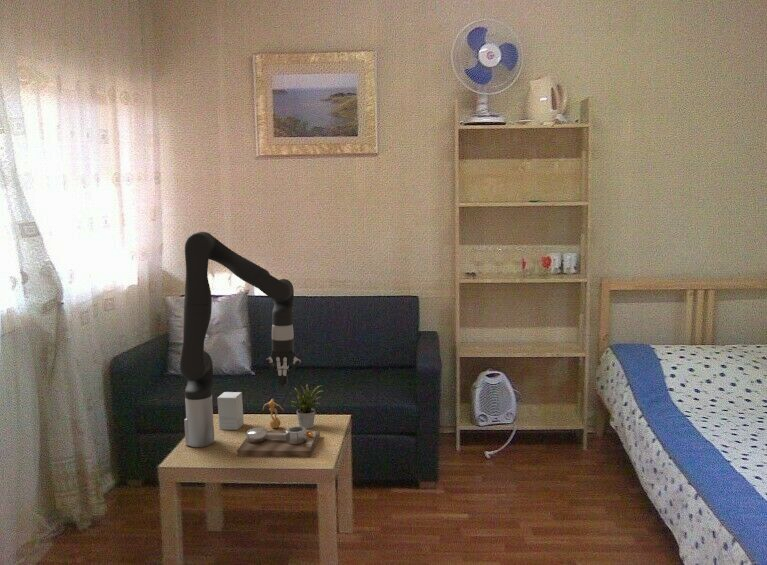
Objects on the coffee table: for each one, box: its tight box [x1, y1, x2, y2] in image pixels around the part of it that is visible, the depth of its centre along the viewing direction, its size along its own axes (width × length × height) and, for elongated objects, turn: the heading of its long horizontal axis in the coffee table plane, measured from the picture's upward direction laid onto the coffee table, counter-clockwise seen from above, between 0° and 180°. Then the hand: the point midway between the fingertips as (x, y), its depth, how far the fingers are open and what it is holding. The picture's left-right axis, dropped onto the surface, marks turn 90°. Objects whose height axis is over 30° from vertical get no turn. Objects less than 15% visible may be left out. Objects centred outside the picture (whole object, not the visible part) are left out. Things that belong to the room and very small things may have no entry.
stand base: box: [236, 430, 321, 458], centre depth 249 cm, size 25×19×3 cm
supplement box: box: [216, 391, 245, 431], centre depth 269 cm, size 7×7×13 cm
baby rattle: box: [246, 425, 313, 444], centre depth 248 cm, size 24×7×4 cm, turn 83°
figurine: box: [262, 398, 285, 429], centre depth 265 cm, size 8×6×12 cm
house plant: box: [290, 384, 323, 430], centre depth 267 cm, size 14×14×16 cm
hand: (283, 385), depth 249 cm, fingers closed
